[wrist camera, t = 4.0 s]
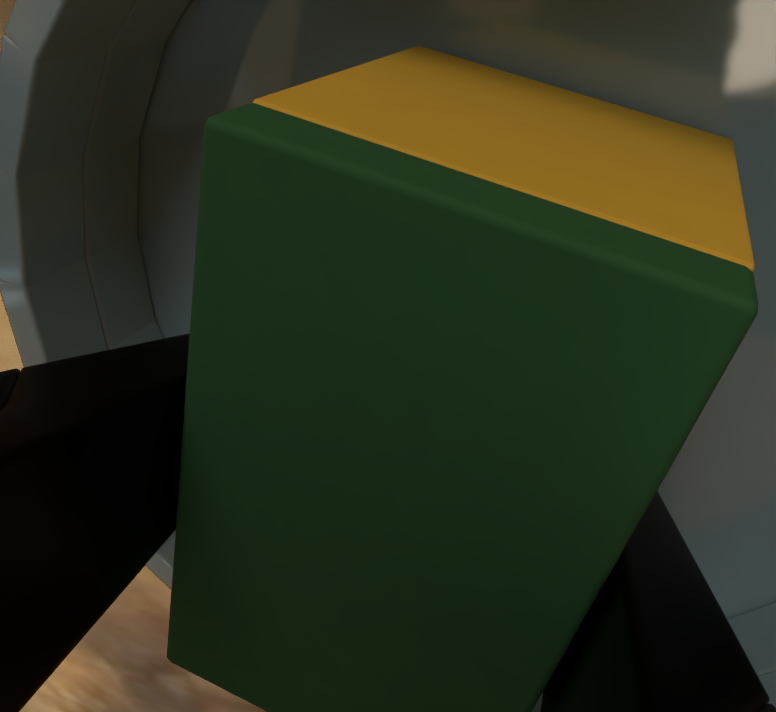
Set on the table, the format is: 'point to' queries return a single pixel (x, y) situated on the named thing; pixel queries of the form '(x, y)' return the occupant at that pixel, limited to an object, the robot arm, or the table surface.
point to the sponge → (436, 377)
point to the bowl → (331, 55)
